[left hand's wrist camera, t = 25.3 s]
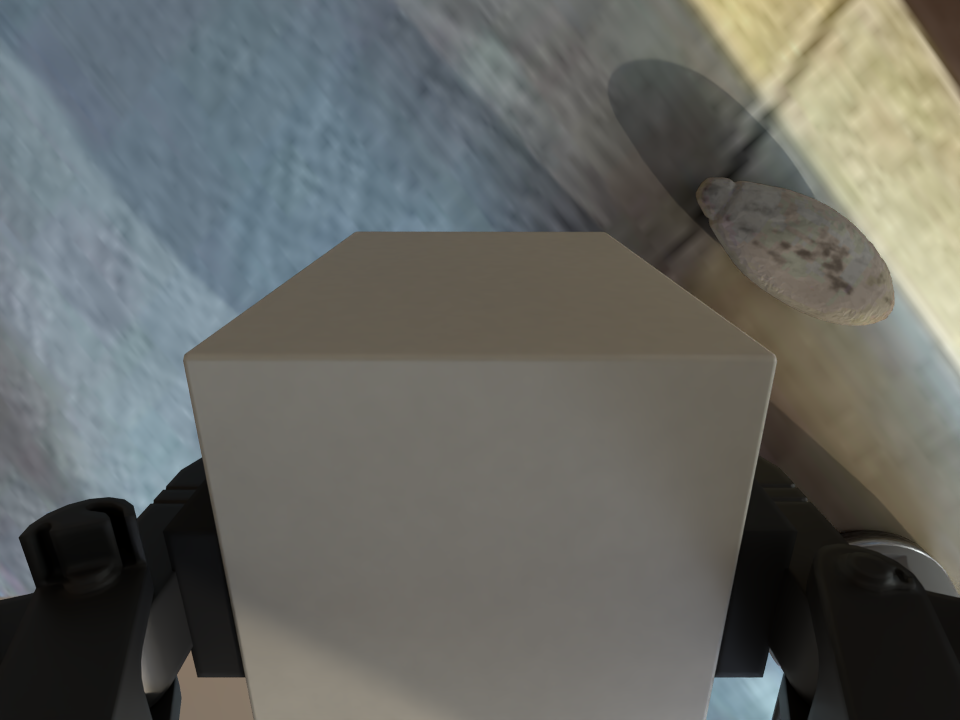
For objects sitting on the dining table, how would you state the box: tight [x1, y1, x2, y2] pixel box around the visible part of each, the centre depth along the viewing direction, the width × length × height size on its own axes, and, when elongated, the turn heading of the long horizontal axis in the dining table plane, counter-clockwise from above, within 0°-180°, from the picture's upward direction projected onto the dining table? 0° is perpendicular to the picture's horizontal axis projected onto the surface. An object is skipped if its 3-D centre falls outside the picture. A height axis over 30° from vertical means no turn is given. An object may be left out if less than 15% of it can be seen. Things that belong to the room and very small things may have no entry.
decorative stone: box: [696, 177, 894, 326], centre depth 37 cm, size 6×16×3 cm, turn 60°
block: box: [183, 232, 777, 720], centre depth 13 cm, size 8×7×10 cm
